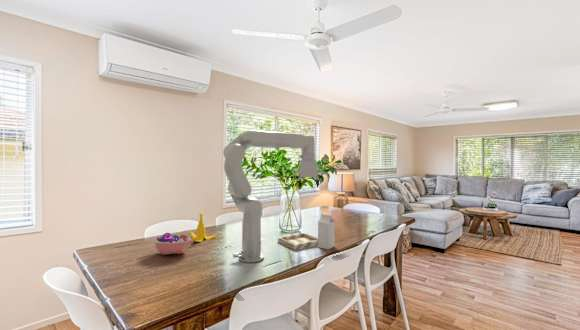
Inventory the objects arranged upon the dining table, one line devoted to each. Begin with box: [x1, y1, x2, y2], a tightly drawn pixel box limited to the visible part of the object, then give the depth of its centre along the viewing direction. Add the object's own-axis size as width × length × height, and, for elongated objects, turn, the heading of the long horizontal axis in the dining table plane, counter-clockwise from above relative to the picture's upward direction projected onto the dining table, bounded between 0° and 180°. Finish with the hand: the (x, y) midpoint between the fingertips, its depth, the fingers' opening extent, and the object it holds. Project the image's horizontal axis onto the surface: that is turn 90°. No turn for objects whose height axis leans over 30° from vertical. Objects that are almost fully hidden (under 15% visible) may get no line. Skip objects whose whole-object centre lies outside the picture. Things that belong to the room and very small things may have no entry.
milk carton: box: [317, 213, 336, 250], centre depth 164 cm, size 7×7×19 cm
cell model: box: [153, 232, 193, 256], centre depth 151 cm, size 17×20×11 cm
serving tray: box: [277, 232, 318, 251], centre depth 171 cm, size 20×18×3 cm
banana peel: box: [189, 213, 219, 243], centre depth 179 cm, size 17×19×17 cm
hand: (308, 187), depth 160 cm, fingers open, 9 cm apart
